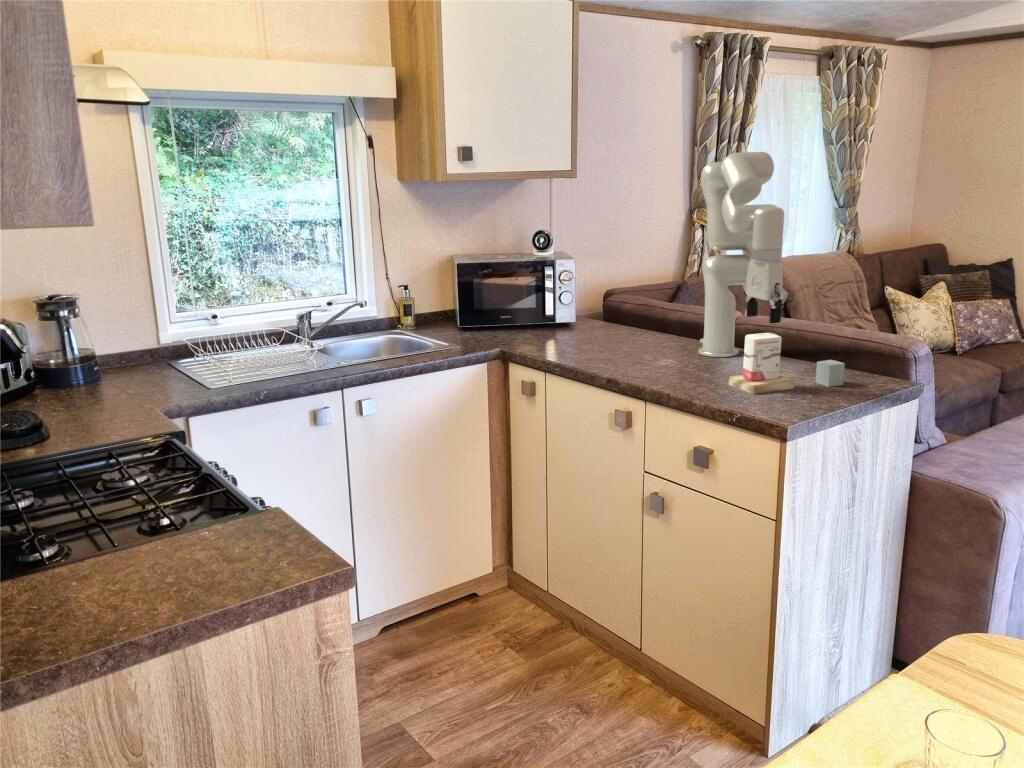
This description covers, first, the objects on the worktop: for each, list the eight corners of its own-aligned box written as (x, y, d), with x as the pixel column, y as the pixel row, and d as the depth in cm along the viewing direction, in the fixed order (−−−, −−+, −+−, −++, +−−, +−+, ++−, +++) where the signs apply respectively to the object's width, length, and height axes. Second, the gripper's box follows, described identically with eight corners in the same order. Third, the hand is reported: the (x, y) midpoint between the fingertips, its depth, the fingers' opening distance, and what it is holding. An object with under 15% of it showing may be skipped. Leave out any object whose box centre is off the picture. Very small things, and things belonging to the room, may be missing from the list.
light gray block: (815, 382, 220) (816, 361, 219) (830, 380, 222) (831, 359, 220) (828, 387, 216) (829, 365, 214) (843, 384, 217) (844, 363, 216)
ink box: (751, 381, 214) (754, 339, 211) (741, 376, 219) (744, 334, 215) (779, 378, 216) (782, 336, 213) (769, 373, 221) (772, 331, 217)
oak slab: (728, 387, 221) (729, 376, 220) (767, 381, 225) (768, 371, 225) (753, 396, 211) (753, 385, 210) (793, 390, 215) (794, 379, 215)
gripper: (734, 253, 216) (731, 315, 221) (776, 260, 200) (772, 327, 205) (757, 250, 218) (754, 312, 223) (800, 257, 203) (796, 323, 208)
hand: (763, 319), depth 214 cm, fingers open, 9 cm apart
